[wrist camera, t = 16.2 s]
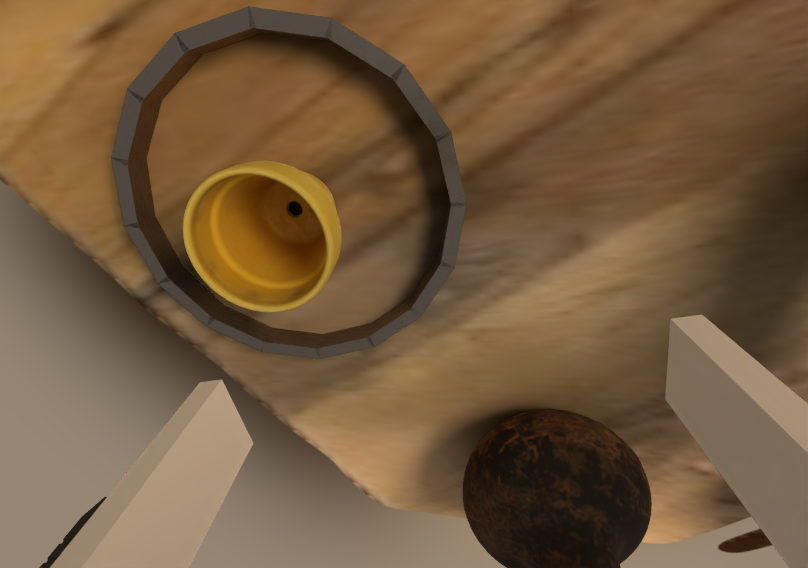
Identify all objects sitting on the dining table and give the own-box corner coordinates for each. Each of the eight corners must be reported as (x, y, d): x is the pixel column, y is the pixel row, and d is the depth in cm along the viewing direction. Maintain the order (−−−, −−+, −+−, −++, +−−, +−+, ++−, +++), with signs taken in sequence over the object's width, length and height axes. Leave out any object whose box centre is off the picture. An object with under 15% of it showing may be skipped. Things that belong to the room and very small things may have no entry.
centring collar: (188, -73, 28) (167, -88, 25) (528, 144, 33) (535, 148, 31) (104, 260, 39) (85, 271, 37) (367, 383, 44) (365, 398, 42)
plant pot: (215, 180, 35) (146, 211, 26) (316, 123, 33) (277, 137, 24) (282, 278, 39) (241, 334, 30) (377, 233, 37) (362, 280, 28)
